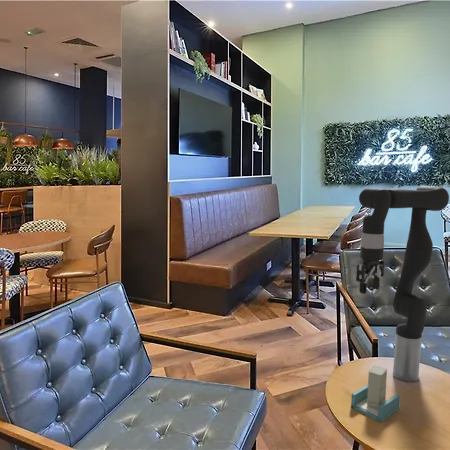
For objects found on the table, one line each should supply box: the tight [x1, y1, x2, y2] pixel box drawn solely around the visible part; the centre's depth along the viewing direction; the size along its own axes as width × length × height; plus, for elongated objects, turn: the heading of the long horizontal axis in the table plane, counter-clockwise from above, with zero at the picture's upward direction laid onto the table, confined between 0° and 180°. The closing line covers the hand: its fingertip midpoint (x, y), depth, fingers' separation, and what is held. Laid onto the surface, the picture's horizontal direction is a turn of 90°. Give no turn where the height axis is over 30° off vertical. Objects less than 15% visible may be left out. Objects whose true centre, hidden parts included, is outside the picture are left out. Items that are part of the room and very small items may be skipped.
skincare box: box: [367, 365, 388, 409], centre depth 141 cm, size 6×4×12 cm
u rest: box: [350, 383, 401, 423], centre depth 141 cm, size 12×11×5 cm
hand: (369, 291), depth 147 cm, fingers open, 8 cm apart
